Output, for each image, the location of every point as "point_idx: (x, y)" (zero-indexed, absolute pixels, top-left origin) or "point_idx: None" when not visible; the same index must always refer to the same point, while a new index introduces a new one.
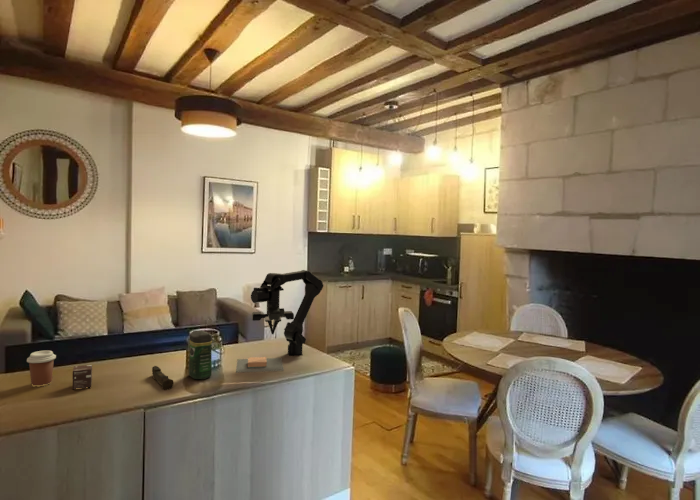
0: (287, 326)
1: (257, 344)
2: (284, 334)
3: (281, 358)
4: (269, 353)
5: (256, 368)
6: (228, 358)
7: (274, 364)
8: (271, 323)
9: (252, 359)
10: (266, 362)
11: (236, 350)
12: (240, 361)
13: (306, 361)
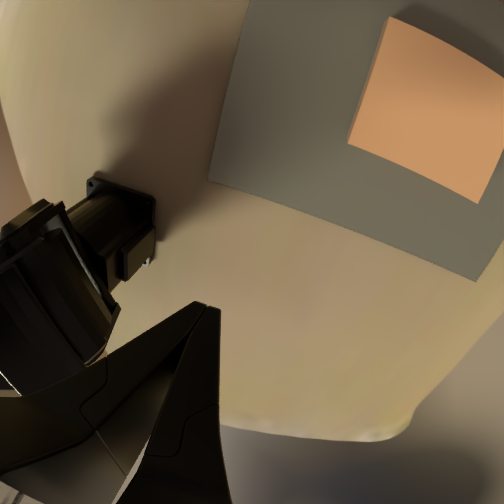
0: (45, 371)
1: (264, 414)
2: (103, 332)
3: (211, 167)
4: (252, 307)
5: (459, 37)
6: (482, 326)
7: (303, 52)
8: (148, 475)
9: (472, 141)
10: (389, 18)
11: (382, 399)
12: (486, 237)
13: (88, 84)
